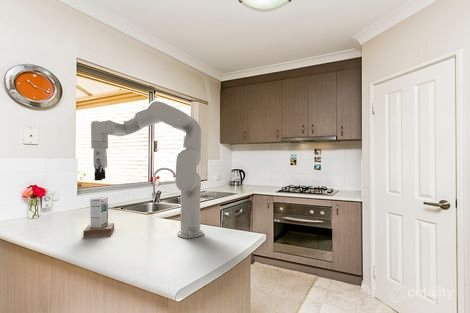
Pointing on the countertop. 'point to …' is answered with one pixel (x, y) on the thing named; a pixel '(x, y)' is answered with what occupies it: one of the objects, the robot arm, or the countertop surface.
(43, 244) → the countertop surface
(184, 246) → the countertop surface
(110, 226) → the walnut block
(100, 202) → the syrup box
